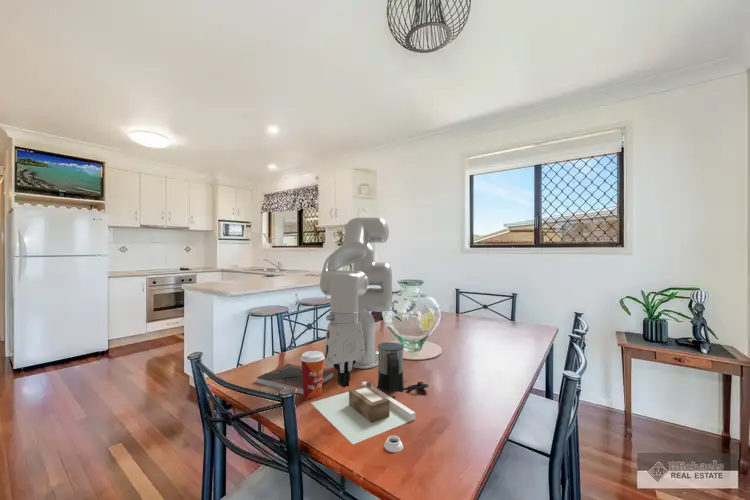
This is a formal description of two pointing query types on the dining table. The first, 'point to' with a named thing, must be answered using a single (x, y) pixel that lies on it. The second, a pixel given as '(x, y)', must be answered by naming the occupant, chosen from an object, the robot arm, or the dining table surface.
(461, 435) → the dining table surface
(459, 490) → the dining table surface
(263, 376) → the picture frame
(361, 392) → the brown rectangular box
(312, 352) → the paper cup
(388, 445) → the white flanged bushing
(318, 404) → the wall board
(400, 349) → the milk frother
